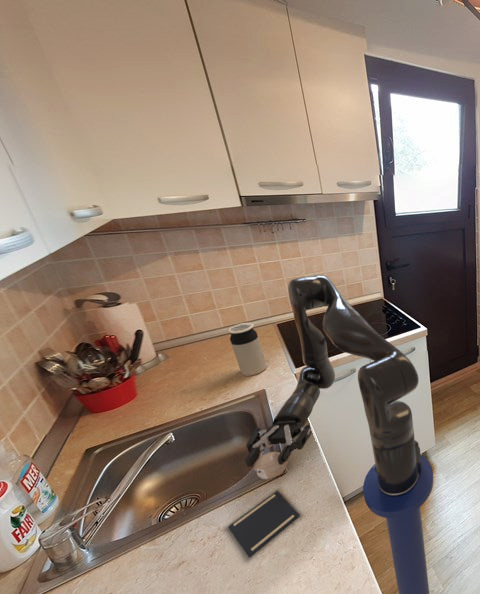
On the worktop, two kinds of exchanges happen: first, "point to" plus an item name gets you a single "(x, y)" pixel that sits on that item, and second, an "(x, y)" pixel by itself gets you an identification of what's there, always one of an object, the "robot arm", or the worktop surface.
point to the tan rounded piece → (269, 465)
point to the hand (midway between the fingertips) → (264, 463)
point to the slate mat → (263, 523)
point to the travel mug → (247, 349)
